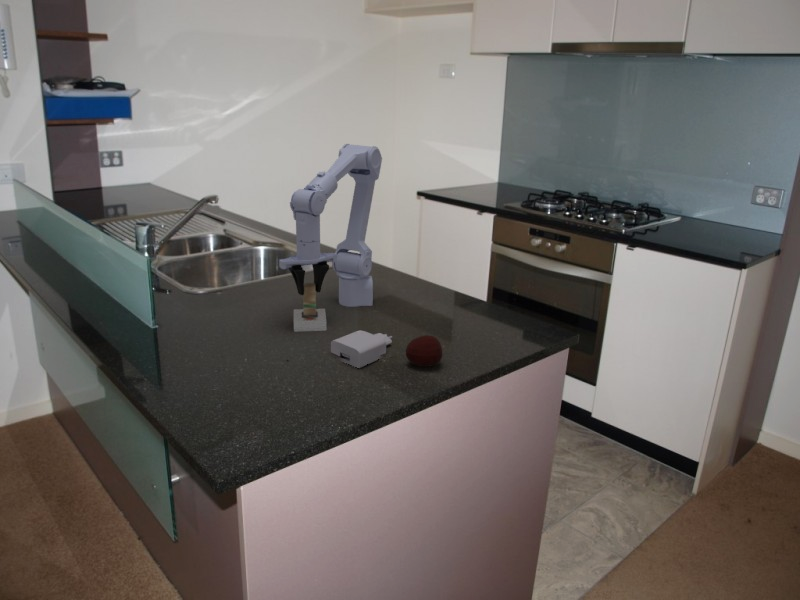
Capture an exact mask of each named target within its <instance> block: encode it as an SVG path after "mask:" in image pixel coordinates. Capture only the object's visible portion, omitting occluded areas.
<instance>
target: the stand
mask: <svg viewBox="0 0 800 600" xmlns="http://www.w3.org/2000/svg"><path fill="white" fill-rule="evenodd" d="M326 315H327V314H326V308H316V315H304V309H303V308H302V309H301V308H299V309H295V308H294V309H293V332H298V333H299V332H325V331H326V332H327V316H326Z"/></svg>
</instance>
